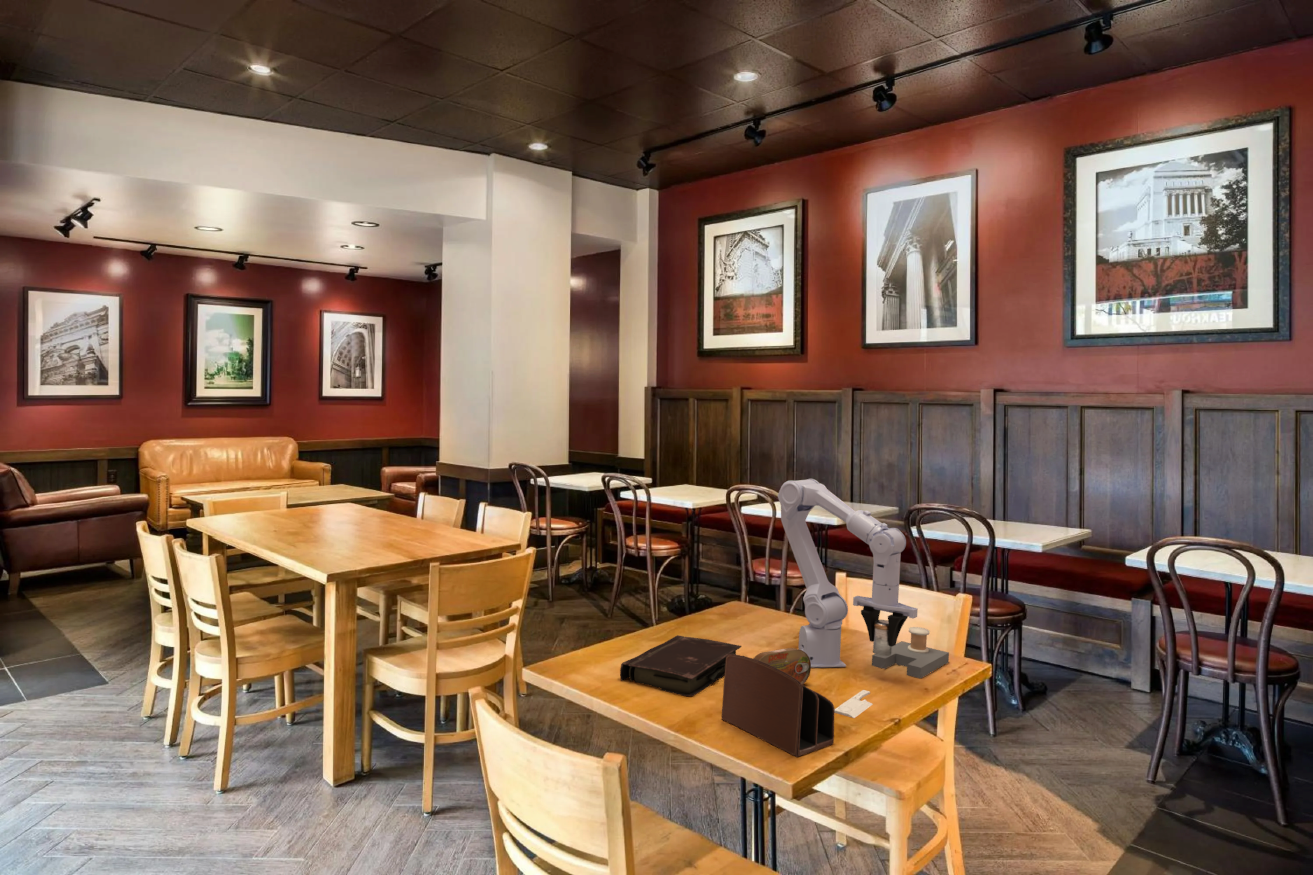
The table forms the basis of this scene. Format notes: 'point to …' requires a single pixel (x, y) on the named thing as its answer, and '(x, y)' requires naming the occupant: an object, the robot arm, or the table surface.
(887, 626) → the peg
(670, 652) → the diary
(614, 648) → the table surface
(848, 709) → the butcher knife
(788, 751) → the letter holder
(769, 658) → the tin
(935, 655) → the notched board
